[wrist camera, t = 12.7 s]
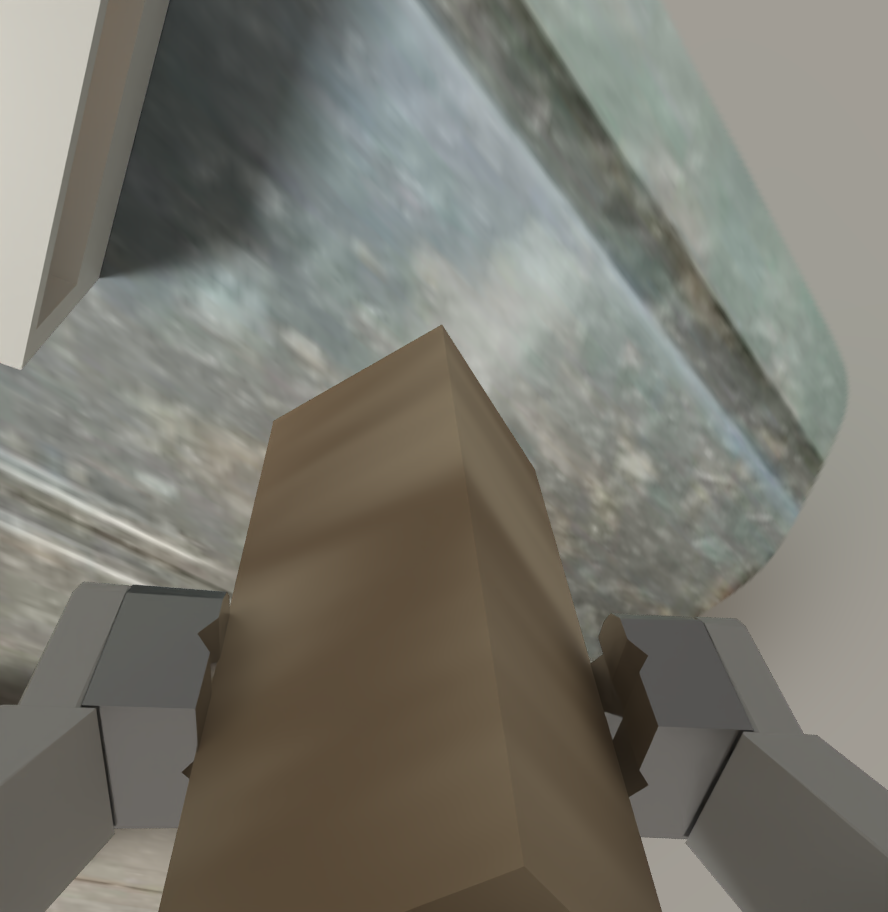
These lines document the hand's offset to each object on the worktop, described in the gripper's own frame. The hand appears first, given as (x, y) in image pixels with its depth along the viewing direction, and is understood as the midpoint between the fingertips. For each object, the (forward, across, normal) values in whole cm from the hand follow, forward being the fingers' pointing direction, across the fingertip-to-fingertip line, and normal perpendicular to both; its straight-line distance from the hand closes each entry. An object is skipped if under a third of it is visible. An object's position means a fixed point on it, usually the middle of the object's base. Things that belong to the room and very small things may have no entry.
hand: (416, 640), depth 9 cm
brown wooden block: (+4, 0, 0) cm, 4 cm away
